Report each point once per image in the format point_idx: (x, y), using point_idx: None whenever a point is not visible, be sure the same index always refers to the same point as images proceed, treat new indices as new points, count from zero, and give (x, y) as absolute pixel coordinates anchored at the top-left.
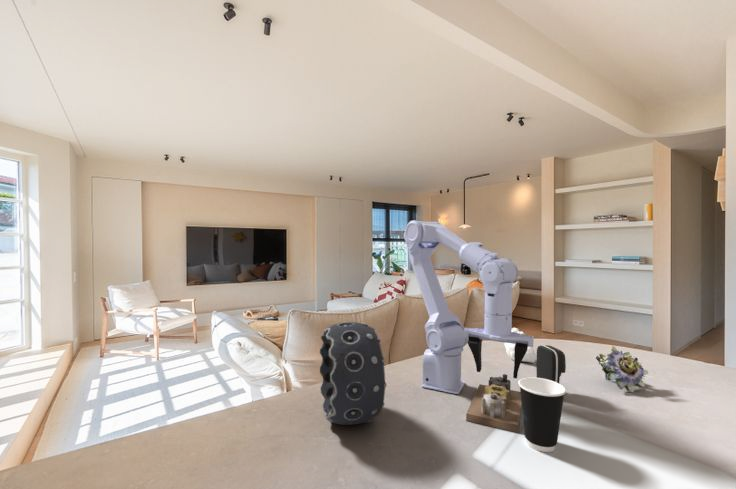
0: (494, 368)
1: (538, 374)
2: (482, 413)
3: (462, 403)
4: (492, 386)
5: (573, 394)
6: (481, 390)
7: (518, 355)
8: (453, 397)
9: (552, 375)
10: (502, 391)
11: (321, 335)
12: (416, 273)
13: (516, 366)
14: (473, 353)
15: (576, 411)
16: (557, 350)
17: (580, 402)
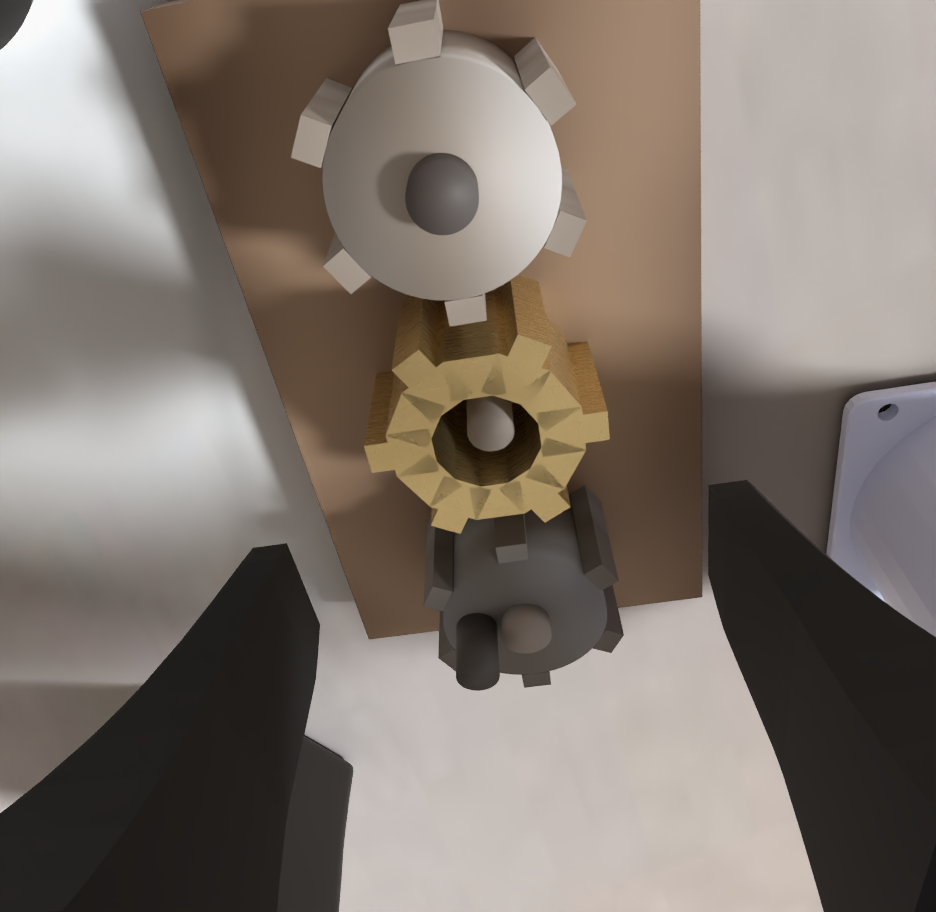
0: (662, 860)
1: (322, 849)
2: (534, 31)
3: (784, 263)
4: (545, 470)
5: None
6: (663, 504)
7: (66, 816)
8: (884, 327)
9: None
10: (421, 417)
11: None
12: None
13: (193, 656)
14: (933, 648)
15: (31, 615)
16: None
17: (75, 724)
